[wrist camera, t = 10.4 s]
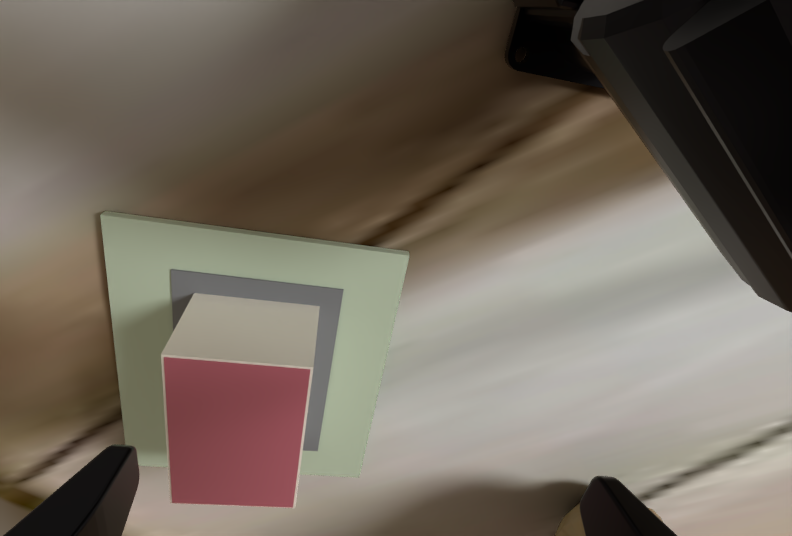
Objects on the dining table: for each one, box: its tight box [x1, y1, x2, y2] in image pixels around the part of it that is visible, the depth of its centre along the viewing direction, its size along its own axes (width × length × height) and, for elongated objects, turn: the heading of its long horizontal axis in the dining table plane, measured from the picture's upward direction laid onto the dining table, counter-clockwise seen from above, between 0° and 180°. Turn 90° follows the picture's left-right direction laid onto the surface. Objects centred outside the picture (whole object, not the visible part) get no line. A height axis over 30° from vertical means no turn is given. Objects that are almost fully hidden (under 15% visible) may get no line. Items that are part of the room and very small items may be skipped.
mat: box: [100, 211, 409, 478], centre depth 22 cm, size 12×14×1 cm
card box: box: [161, 293, 320, 508], centre depth 20 cm, size 8×5×4 cm, turn 170°
